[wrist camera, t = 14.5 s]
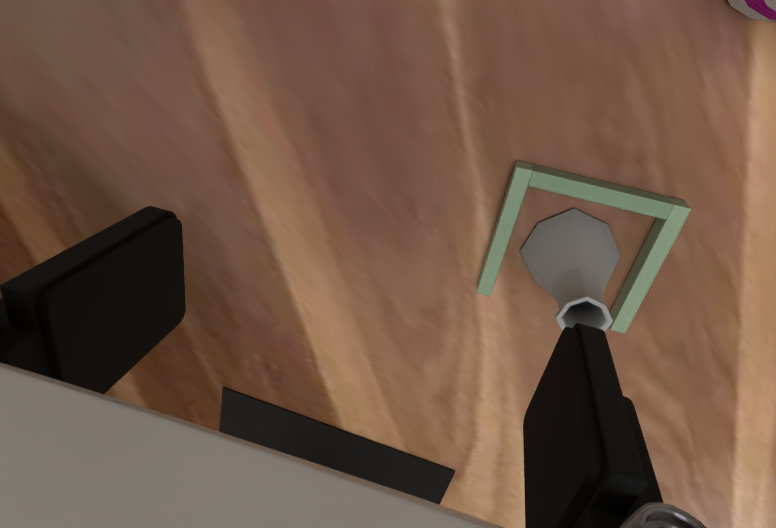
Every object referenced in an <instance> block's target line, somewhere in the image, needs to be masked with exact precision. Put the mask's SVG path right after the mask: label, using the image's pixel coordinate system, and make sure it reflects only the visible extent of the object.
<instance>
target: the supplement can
mask: <svg viewBox="0 0 776 528" xmlns="http://www.w3.org/2000/svg"><path fill="white" fill-rule="evenodd" d="M728 2H729V3H730V5H731V7H733V8H734V9H736V10H738V11H739V12H741V13H742V14H744V15H746V16H747V17H749V18H751V19H754V20H762V21H769V22H776V0H728Z"/></svg>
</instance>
